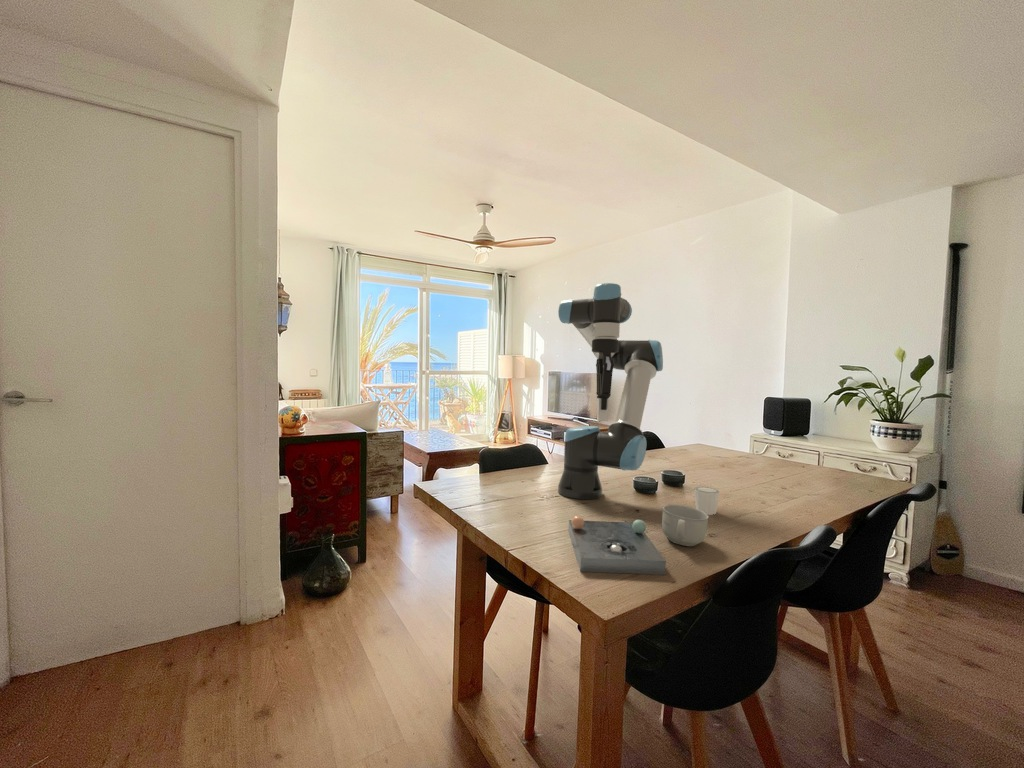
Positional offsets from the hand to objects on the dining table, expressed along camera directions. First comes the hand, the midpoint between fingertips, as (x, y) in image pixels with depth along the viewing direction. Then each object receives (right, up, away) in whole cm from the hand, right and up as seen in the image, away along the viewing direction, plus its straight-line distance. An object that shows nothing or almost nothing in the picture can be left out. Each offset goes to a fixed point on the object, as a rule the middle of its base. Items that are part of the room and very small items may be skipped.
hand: (602, 420), depth 121 cm
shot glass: (+34, -29, +9) cm, 46 cm away
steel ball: (-2, -28, -25) cm, 38 cm away
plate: (-2, -29, -21) cm, 36 cm away
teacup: (+17, -30, -15) cm, 37 cm away
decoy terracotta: (-10, -24, -16) cm, 30 cm away
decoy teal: (+5, -25, -17) cm, 31 cm away
